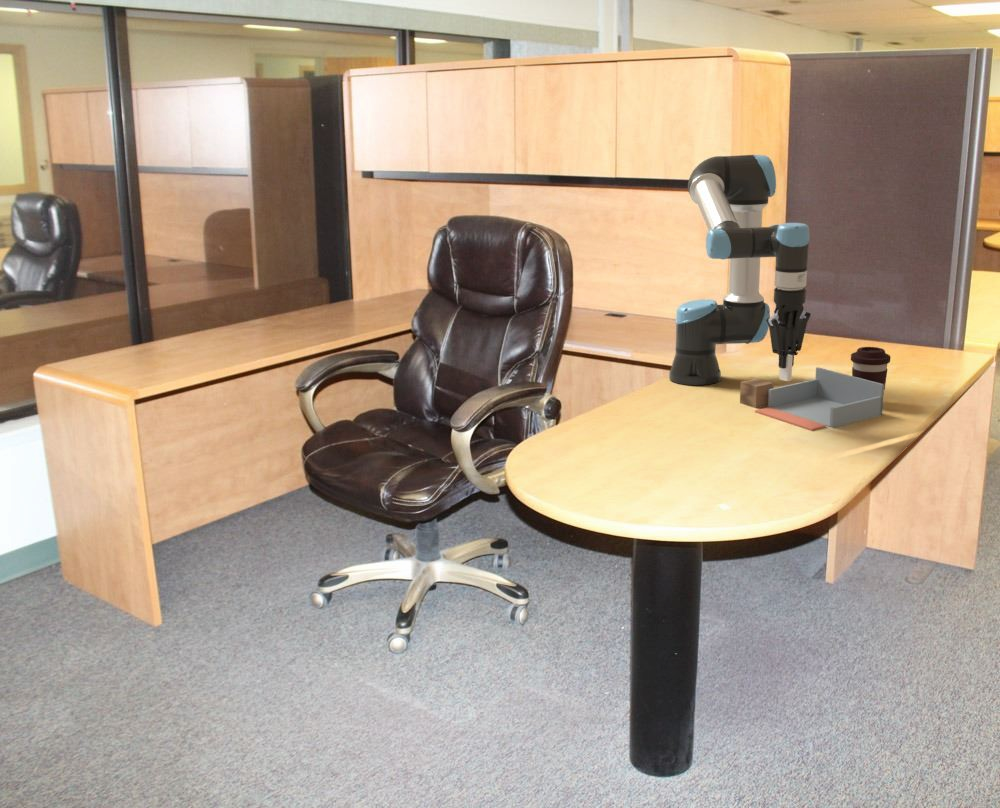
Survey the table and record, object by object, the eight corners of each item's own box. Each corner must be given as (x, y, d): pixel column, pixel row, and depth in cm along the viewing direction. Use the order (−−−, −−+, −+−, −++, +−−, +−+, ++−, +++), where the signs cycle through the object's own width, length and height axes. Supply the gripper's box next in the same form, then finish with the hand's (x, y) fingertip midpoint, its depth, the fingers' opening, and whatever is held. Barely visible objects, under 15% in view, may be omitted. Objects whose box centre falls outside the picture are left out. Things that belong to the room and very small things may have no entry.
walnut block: (739, 406, 276) (740, 381, 274) (756, 403, 278) (757, 378, 276) (755, 411, 270) (756, 386, 269) (772, 408, 273) (773, 383, 271)
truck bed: (767, 410, 271) (769, 377, 268) (816, 399, 279) (818, 367, 277) (831, 431, 252) (833, 396, 250) (881, 418, 261) (884, 384, 258)
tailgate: (768, 411, 269) (754, 415, 267) (769, 407, 269) (755, 410, 266) (825, 430, 253) (811, 434, 250) (826, 425, 252) (811, 429, 250)
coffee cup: (889, 409, 268) (893, 354, 264) (850, 408, 270) (853, 353, 266) (883, 398, 278) (887, 345, 274) (845, 398, 280) (849, 344, 276)
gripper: (781, 293, 243) (776, 387, 250) (821, 286, 249) (815, 378, 256) (759, 288, 249) (755, 380, 256) (798, 281, 255) (793, 372, 262)
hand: (785, 379), depth 256 cm, fingers closed
